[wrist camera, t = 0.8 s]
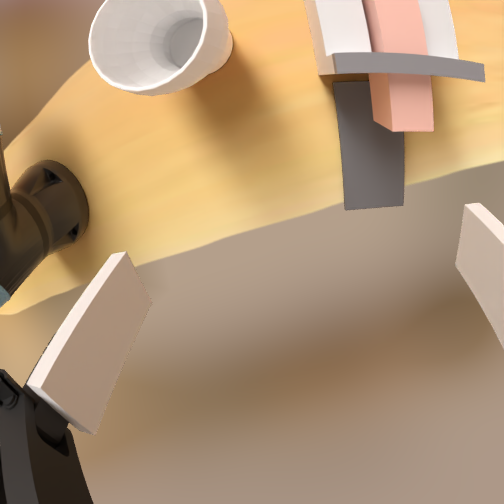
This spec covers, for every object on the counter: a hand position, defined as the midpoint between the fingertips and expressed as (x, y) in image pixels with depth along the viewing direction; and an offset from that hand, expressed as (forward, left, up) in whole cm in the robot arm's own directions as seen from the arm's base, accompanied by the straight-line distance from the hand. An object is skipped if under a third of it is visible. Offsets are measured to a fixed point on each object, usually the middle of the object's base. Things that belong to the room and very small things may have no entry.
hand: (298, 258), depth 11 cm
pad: (+10, -3, -26) cm, 28 cm away
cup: (-8, +12, -27) cm, 30 cm away
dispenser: (+11, +12, -26) cm, 31 cm away
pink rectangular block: (+11, +8, -21) cm, 25 cm away
